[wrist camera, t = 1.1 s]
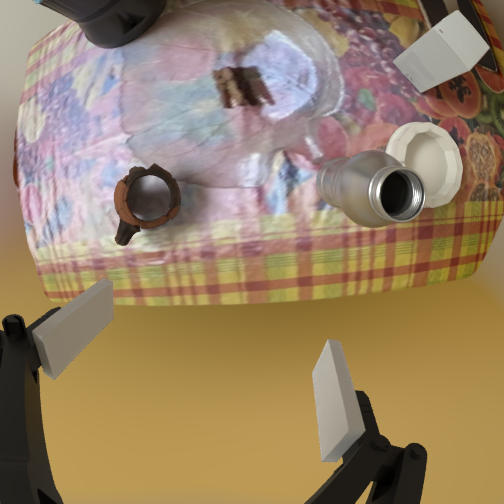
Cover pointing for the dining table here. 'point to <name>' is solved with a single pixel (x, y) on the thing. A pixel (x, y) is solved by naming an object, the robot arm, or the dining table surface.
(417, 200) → the plastic bottle
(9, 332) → the robot arm
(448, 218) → the dining table surface
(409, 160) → the bowl
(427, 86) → the small box
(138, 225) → the broken clay pot
